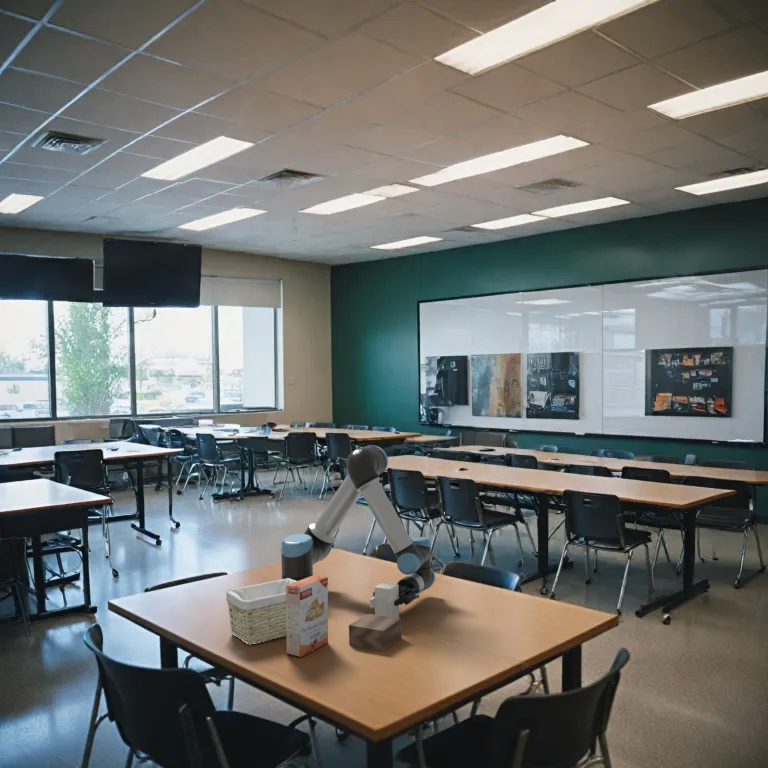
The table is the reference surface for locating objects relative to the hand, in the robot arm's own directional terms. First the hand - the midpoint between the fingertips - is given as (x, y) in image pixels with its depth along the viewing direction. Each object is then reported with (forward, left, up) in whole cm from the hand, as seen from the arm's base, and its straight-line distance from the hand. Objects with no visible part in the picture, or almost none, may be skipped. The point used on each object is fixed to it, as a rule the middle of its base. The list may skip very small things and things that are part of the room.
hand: (379, 604), depth 235 cm
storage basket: (-36, -1, -7) cm, 37 cm away
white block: (+3, +4, -7) cm, 9 cm away
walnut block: (-3, -14, -7) cm, 16 cm away
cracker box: (-24, -17, -7) cm, 30 cm away
